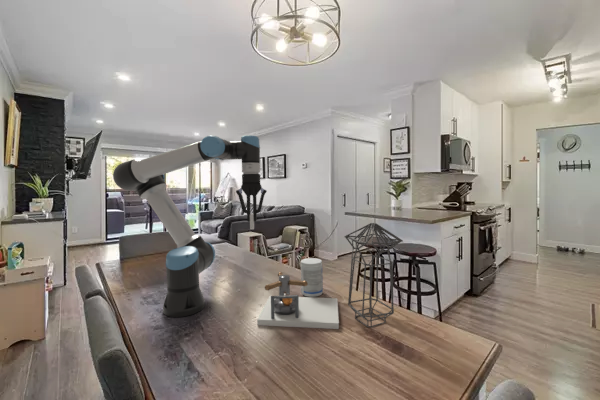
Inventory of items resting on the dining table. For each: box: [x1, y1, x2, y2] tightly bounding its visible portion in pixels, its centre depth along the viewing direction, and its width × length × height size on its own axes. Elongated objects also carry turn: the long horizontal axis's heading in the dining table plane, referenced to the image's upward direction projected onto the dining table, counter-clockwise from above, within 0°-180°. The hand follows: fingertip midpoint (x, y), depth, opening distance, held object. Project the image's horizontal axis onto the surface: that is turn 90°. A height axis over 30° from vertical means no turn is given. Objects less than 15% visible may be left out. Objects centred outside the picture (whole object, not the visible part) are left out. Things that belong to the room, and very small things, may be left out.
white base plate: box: [256, 293, 340, 330], centre depth 106 cm, size 28×20×10 cm
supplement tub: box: [300, 257, 324, 298], centre depth 125 cm, size 10×10×15 cm
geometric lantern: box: [343, 222, 404, 328], centre depth 101 cm, size 16×16×35 cm
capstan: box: [264, 271, 308, 315], centre depth 108 cm, size 16×16×12 cm
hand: (252, 229), depth 121 cm, fingers closed
